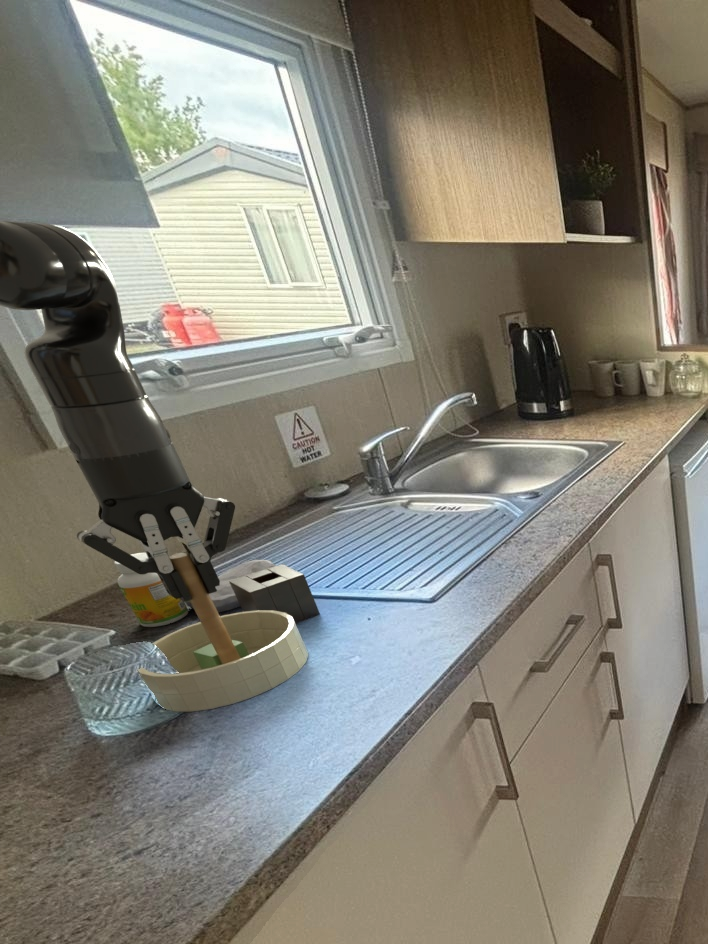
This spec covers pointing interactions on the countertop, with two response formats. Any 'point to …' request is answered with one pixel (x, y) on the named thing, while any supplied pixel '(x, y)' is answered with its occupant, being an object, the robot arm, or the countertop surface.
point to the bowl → (264, 668)
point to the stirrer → (205, 608)
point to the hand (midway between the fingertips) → (197, 594)
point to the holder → (276, 592)
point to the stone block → (225, 593)
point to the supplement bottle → (149, 597)
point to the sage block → (210, 658)
